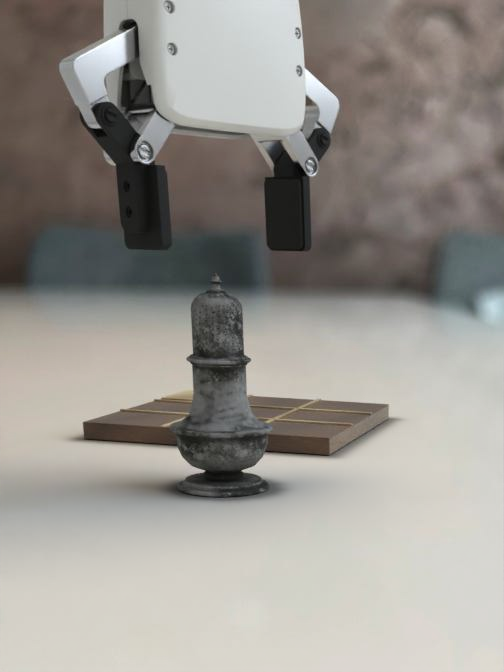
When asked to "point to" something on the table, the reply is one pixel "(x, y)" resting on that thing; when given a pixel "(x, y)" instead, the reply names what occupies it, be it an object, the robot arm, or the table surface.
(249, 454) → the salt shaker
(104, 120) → the robot arm
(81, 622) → the table surface
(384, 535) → the table surface
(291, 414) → the board
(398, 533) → the table surface
